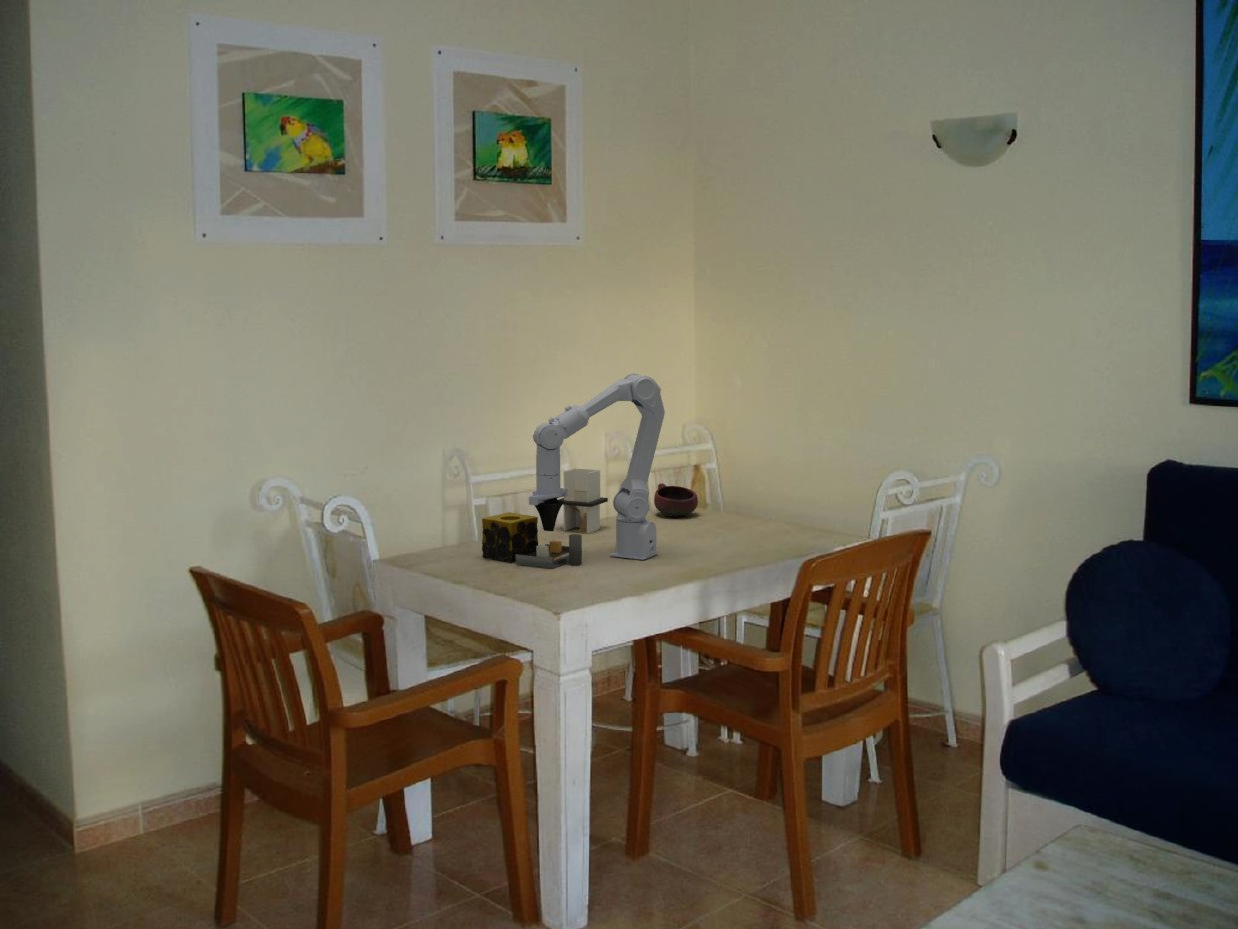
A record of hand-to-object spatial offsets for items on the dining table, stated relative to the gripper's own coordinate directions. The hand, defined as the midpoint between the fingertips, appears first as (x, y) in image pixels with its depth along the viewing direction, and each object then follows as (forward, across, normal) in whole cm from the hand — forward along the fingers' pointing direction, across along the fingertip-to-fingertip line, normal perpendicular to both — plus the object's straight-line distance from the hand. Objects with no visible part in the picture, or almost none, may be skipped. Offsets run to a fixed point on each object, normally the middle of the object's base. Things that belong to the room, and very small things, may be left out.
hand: (548, 530), depth 306 cm
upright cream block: (+6, +3, 0) cm, 6 cm away
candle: (+8, 0, -11) cm, 13 cm away
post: (+8, 0, +7) cm, 10 cm away
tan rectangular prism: (+6, -3, 0) cm, 6 cm away
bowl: (+8, -69, -1) cm, 70 cm away
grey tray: (+8, 0, 0) cm, 8 cm away
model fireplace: (+8, -38, -12) cm, 41 cm away
